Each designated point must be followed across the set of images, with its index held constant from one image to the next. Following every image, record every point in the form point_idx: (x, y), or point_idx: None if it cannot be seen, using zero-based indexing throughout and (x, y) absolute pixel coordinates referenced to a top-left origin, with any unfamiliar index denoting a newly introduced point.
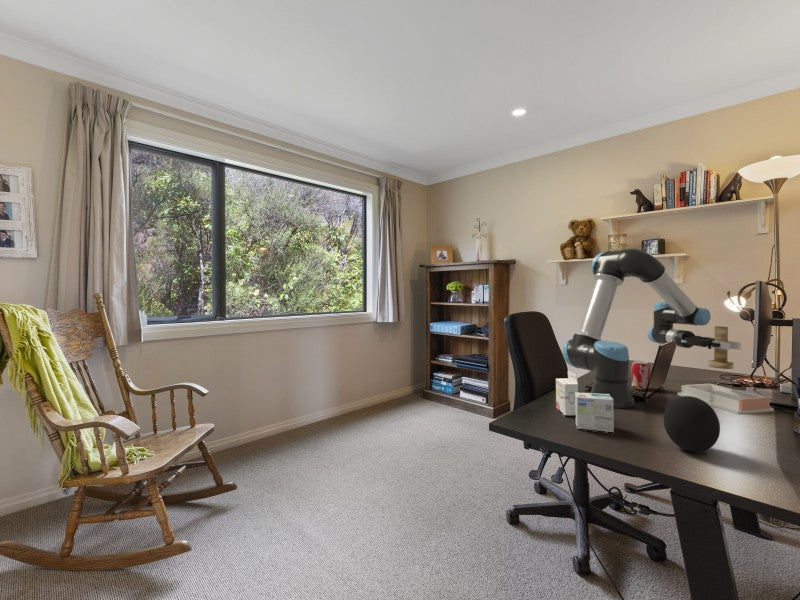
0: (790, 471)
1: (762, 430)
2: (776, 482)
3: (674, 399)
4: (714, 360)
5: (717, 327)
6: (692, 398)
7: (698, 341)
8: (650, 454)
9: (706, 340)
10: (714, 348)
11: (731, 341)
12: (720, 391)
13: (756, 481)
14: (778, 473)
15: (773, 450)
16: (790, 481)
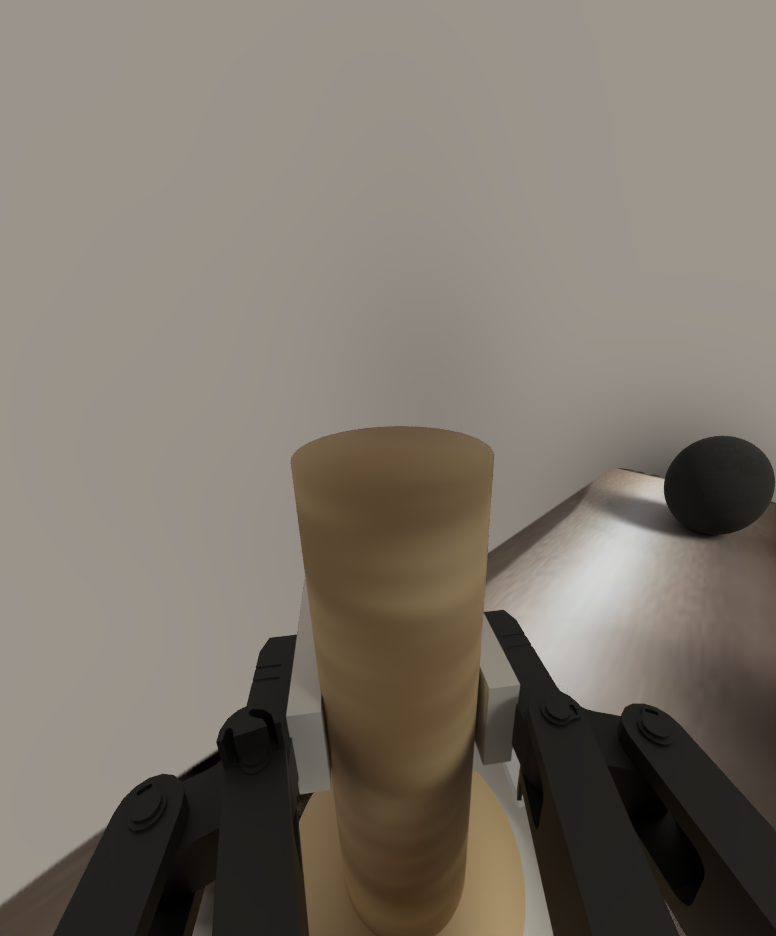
0: (572, 497)
1: (519, 583)
2: (603, 486)
3: (761, 451)
4: (465, 876)
5: (483, 448)
6: (726, 436)
7: (765, 847)
8: (771, 523)
9: (592, 784)
10: (468, 785)
11: (309, 614)
12: (513, 778)
13: (626, 487)
14: (590, 495)
15: (557, 528)
16: (586, 487)
